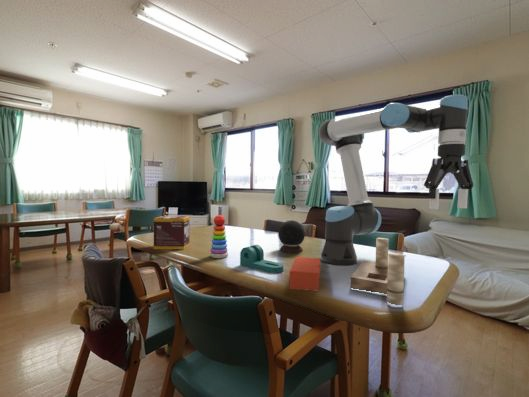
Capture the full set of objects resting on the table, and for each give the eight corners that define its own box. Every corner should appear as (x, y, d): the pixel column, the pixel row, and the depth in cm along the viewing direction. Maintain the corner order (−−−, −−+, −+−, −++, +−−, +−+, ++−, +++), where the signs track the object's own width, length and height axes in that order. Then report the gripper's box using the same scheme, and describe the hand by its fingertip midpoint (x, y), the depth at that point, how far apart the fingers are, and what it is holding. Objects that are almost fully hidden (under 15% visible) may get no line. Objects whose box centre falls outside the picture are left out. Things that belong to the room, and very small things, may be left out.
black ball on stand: (279, 253, 131) (280, 222, 130) (276, 247, 144) (277, 218, 144) (307, 253, 132) (307, 222, 131) (302, 247, 145) (302, 218, 144)
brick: (295, 272, 105) (296, 256, 105) (320, 274, 103) (320, 258, 103) (289, 289, 87) (289, 270, 87) (318, 292, 85) (318, 273, 85)
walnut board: (350, 289, 87) (351, 245, 86) (363, 271, 106) (364, 234, 105) (399, 299, 80) (401, 251, 79) (404, 277, 99) (405, 238, 98)
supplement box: (184, 249, 137) (184, 218, 136) (153, 249, 137) (153, 218, 137) (190, 245, 148) (190, 216, 147) (161, 244, 148) (161, 215, 147)
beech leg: (385, 306, 75) (387, 255, 75) (387, 300, 79) (388, 252, 78) (402, 309, 73) (404, 257, 73) (403, 303, 77) (405, 254, 76)
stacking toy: (231, 257, 124) (231, 215, 123) (214, 259, 120) (214, 216, 119) (223, 253, 131) (223, 213, 130) (207, 255, 126) (207, 214, 125)
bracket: (240, 265, 112) (240, 246, 112) (250, 262, 118) (251, 243, 117) (276, 274, 101) (277, 253, 101) (286, 270, 107) (287, 250, 106)
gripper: (435, 140, 84) (431, 210, 85) (488, 145, 92) (484, 208, 94) (413, 143, 91) (410, 208, 92) (465, 147, 99) (462, 206, 101)
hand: (448, 208), depth 93 cm, fingers open, 13 cm apart
